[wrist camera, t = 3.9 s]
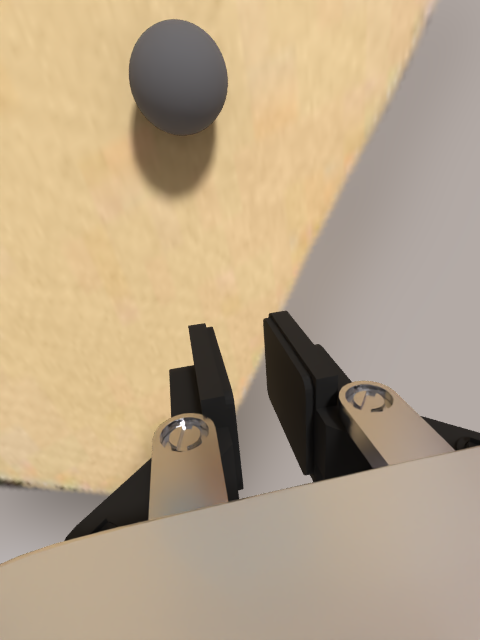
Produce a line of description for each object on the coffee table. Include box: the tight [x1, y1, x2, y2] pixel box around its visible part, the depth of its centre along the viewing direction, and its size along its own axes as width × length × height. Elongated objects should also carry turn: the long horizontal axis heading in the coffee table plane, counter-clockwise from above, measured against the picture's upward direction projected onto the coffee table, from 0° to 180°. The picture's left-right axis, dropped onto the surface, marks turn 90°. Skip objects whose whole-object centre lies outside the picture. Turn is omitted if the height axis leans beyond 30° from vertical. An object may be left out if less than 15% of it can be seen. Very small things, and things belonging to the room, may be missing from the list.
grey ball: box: [129, 19, 228, 135], centre depth 19 cm, size 5×5×5 cm
